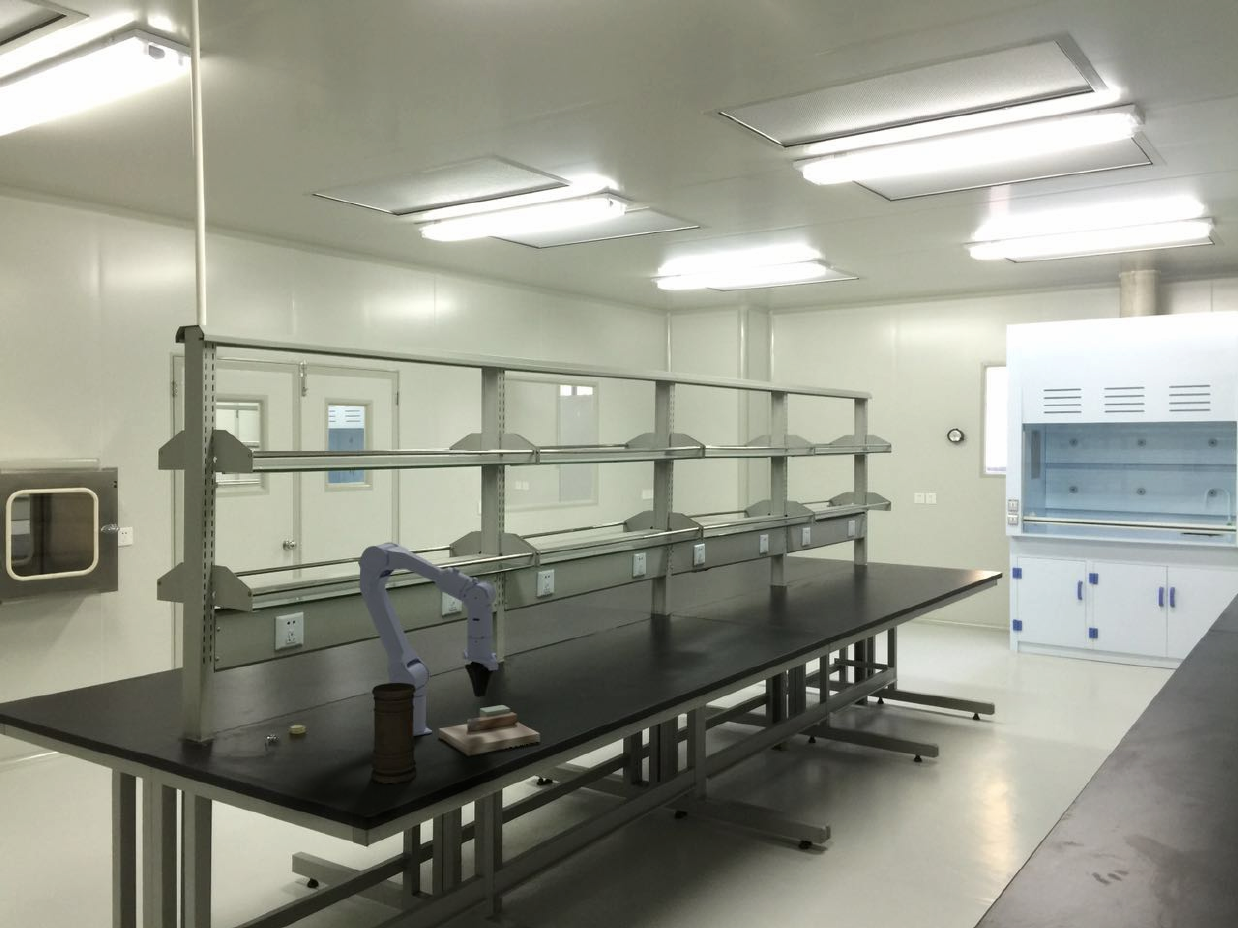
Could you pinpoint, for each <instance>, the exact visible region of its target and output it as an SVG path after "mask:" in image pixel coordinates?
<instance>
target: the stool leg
mask: <svg viewBox="0 0 1238 928" xmlns="http://www.w3.org/2000/svg"><path fill="white" fill-rule="evenodd" d="M517 722H518V714H517V713H515V712H513V711H510V713H504V714H498V715H492V716H486V717H480V716H479V717H476V718H469V719H467V721H466V724H467V730H469V731H477V730H482V729H488V728H493V727H499V726H504V725H510V724H516V723H517Z"/></svg>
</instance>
